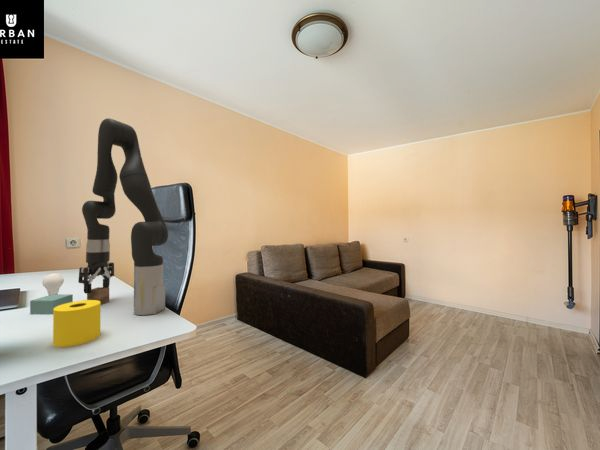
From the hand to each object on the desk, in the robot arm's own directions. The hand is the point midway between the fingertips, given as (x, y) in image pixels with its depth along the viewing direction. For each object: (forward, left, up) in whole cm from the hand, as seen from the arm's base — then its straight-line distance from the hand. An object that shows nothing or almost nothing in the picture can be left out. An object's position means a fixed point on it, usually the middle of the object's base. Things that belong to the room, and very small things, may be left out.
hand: (97, 290), depth 103 cm
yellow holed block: (-22, +30, -6) cm, 37 cm away
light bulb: (+23, -4, -6) cm, 24 cm away
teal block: (+9, +9, -6) cm, 14 cm away
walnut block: (-1, 0, -5) cm, 5 cm away
